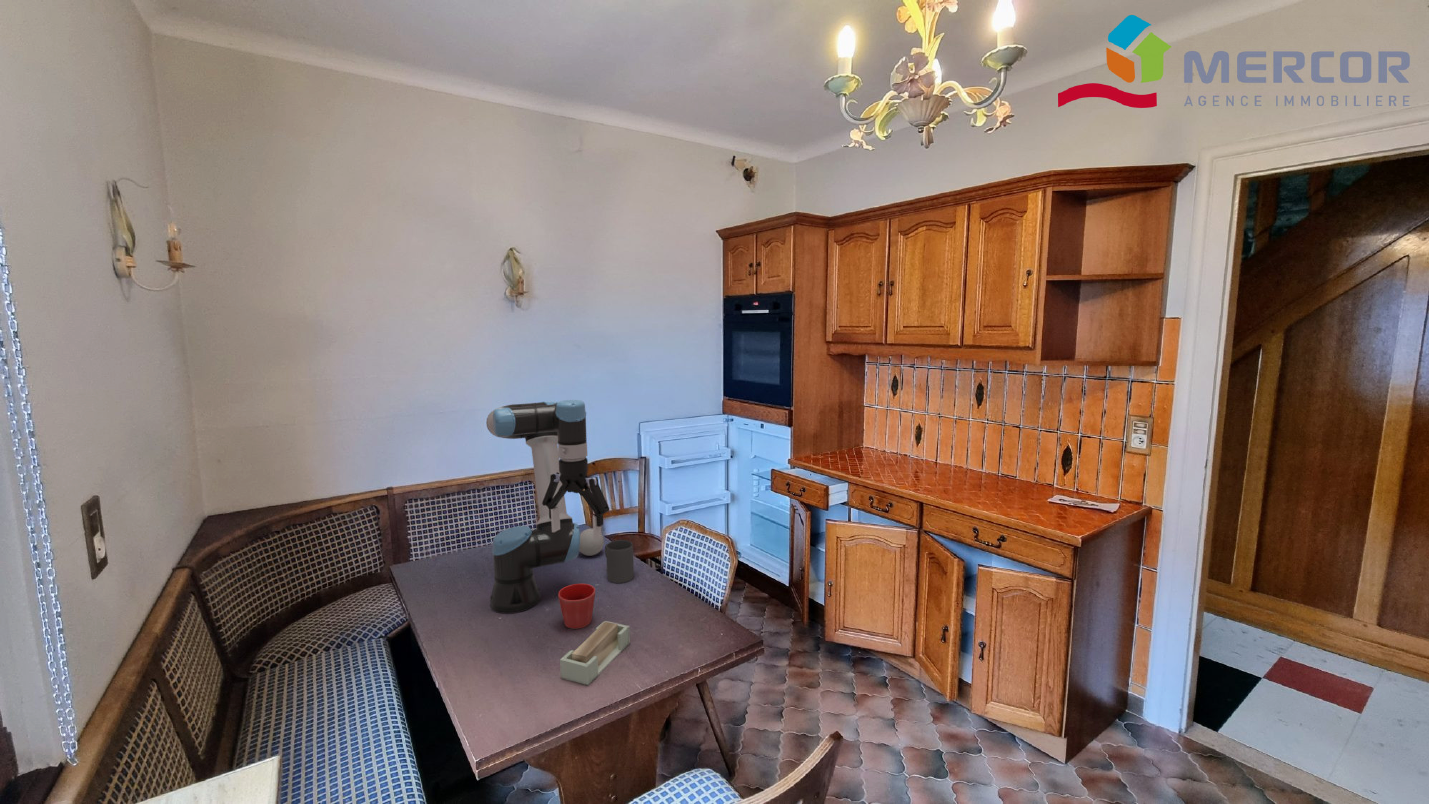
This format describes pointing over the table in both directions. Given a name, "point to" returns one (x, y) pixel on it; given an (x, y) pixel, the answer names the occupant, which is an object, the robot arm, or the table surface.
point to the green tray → (592, 660)
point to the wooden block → (598, 644)
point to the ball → (590, 543)
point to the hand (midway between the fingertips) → (576, 534)
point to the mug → (619, 561)
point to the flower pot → (577, 605)
